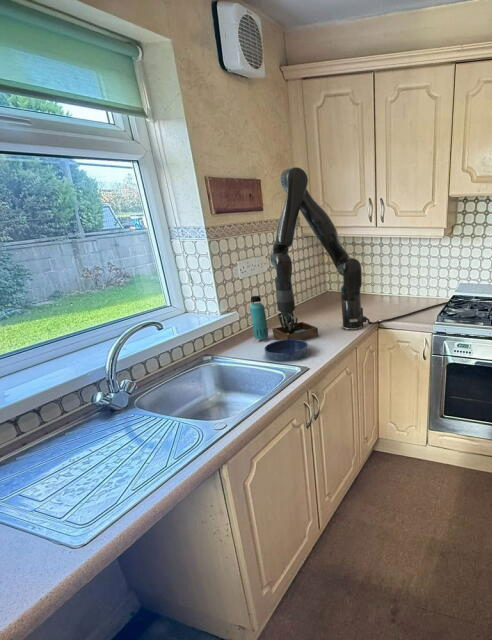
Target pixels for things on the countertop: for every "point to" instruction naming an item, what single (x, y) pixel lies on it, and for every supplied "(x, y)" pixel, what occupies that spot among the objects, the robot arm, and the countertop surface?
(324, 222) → the robot arm
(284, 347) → the bowl
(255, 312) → the beverage bottle
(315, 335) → the box
